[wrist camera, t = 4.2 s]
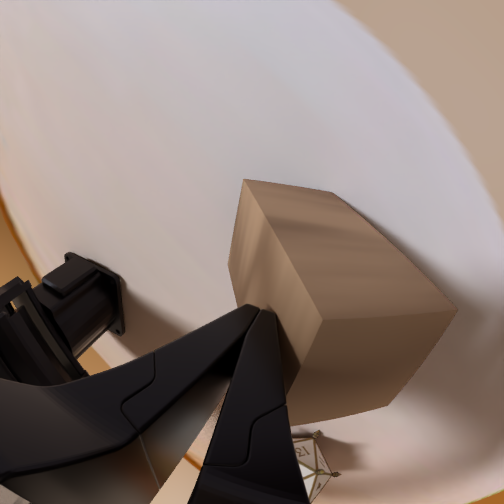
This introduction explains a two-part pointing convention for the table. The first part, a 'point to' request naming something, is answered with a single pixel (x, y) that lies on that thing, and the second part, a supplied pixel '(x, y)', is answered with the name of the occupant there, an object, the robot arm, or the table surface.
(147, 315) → the table surface
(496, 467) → the table surface
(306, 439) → the game die
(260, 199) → the brown rectangular block
